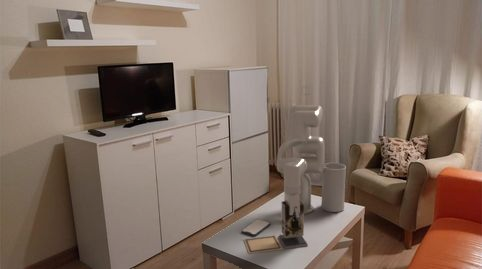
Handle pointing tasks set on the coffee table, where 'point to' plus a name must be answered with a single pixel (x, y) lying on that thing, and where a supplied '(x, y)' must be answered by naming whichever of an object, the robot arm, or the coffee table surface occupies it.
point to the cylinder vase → (333, 187)
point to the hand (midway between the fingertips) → (292, 224)
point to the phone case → (255, 228)
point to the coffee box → (286, 222)
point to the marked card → (262, 244)
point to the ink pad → (292, 242)
